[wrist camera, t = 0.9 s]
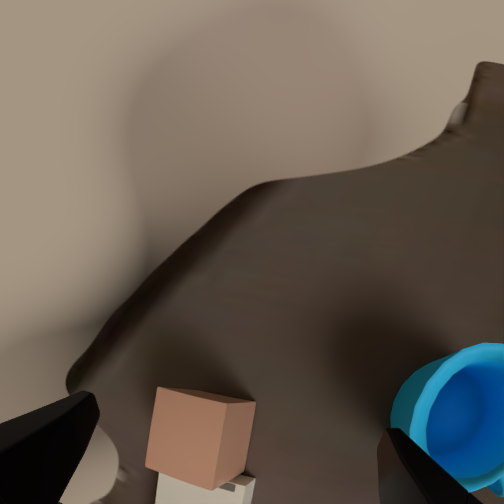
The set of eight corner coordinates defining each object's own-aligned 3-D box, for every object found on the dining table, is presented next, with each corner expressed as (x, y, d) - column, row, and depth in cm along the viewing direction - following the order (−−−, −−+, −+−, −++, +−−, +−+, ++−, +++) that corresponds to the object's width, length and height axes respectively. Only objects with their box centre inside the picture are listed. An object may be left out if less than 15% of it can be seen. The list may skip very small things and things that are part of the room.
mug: (369, 406, 20) (378, 414, 13) (452, 337, 20) (494, 310, 13) (441, 512, 14) (472, 554, 7) (520, 443, 13) (575, 454, 6)
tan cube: (243, 472, 20) (211, 491, 15) (187, 456, 22) (144, 467, 16) (256, 401, 22) (226, 403, 17) (198, 390, 24) (157, 386, 19)
